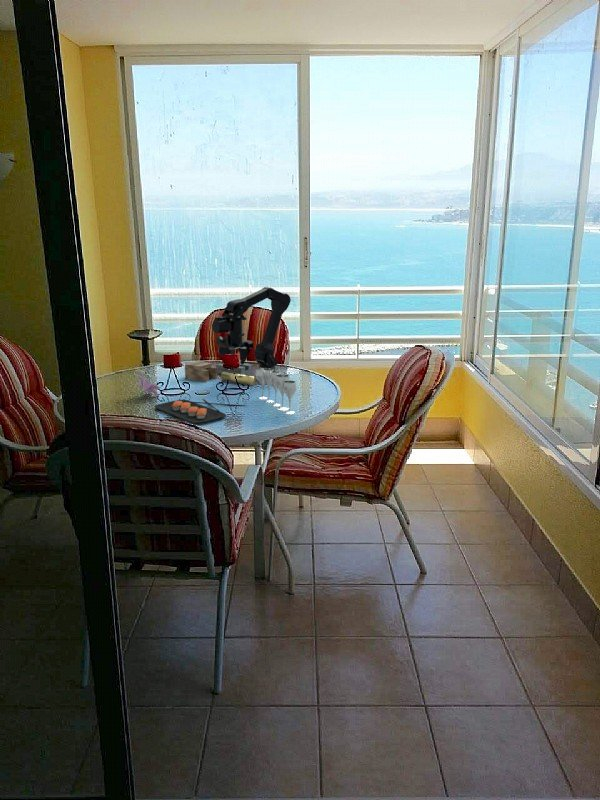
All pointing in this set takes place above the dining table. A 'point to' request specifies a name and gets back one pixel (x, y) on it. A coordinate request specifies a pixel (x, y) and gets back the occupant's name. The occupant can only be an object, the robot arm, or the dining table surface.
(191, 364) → the wooden block
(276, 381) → the goblet set
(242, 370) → the v block
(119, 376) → the dining table surface
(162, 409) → the sushi plate
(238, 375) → the axle
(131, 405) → the dining table surface
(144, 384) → the lily
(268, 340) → the robot arm
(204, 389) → the dining table surface
